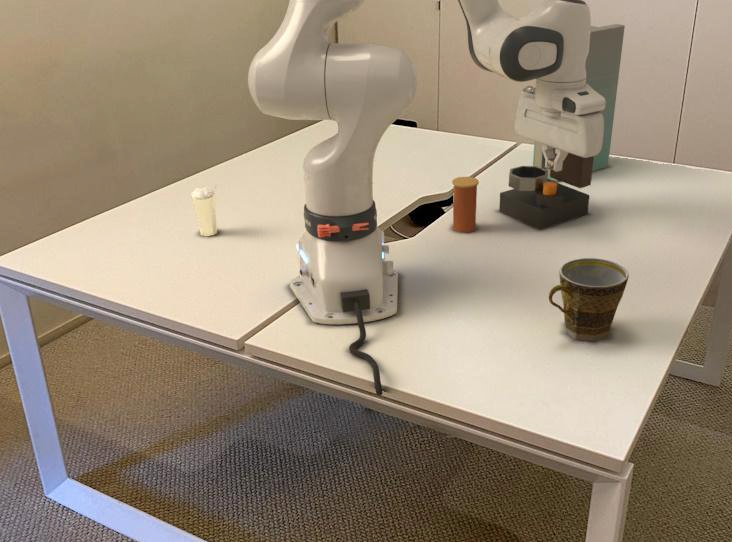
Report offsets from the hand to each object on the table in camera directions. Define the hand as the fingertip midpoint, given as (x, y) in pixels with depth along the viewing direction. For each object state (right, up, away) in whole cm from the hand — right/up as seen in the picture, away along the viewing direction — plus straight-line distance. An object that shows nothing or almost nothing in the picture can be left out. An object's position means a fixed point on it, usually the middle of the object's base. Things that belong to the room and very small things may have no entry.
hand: (553, 169), depth 160 cm
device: (+10, +8, +32) cm, 34 cm away
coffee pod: (-16, -10, +5) cm, 20 cm away
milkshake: (-67, -11, +7) cm, 68 cm away
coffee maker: (0, -1, +7) cm, 7 cm away
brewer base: (0, -6, +11) cm, 12 cm away
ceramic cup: (-2, -34, -30) cm, 46 cm away
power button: (0, -4, +4) cm, 5 cm away
